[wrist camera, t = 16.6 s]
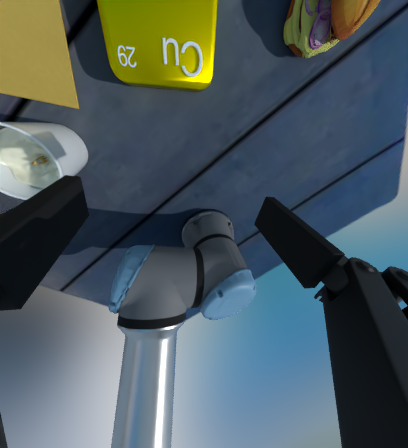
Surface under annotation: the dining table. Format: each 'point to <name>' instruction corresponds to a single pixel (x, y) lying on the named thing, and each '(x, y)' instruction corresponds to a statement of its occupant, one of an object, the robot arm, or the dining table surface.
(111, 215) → the dining table surface
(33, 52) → the towel
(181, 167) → the dining table surface
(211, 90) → the dining table surface
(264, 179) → the dining table surface
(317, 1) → the cheeseburger
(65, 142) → the candle holder
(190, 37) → the element tile
